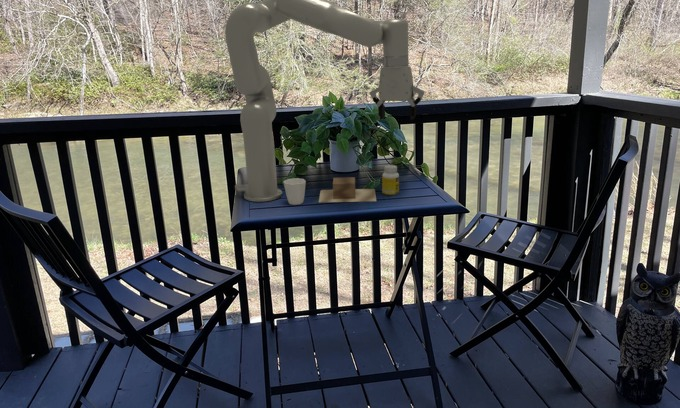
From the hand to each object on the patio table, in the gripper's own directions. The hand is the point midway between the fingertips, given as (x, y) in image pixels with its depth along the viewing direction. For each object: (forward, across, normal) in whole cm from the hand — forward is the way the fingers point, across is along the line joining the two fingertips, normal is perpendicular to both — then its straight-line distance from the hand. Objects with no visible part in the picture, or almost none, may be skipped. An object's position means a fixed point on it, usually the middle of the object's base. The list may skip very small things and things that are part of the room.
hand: (397, 118), depth 164 cm
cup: (+24, -27, -20) cm, 41 cm away
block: (+23, -15, -9) cm, 29 cm away
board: (+24, -14, -9) cm, 30 cm away
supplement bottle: (+25, -2, -2) cm, 25 cm away
